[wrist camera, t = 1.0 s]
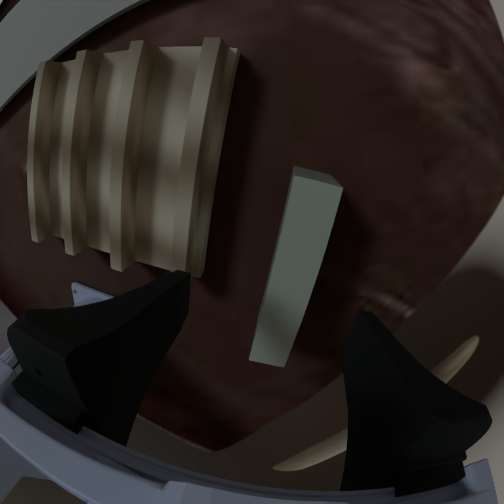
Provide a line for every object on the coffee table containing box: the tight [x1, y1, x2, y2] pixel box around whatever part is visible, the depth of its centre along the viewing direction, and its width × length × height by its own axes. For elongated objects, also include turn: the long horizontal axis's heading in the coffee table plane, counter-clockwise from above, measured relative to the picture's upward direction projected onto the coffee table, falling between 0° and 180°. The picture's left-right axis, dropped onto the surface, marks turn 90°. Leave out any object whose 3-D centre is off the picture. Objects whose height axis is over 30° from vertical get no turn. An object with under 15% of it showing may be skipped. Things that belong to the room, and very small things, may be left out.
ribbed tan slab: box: [27, 37, 240, 281], centre depth 17 cm, size 16×17×3 cm
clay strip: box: [249, 166, 343, 367], centre depth 17 cm, size 12×2×5 cm, turn 169°
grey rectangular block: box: [0, 0, 150, 112], centre depth 12 cm, size 34×5×10 cm
